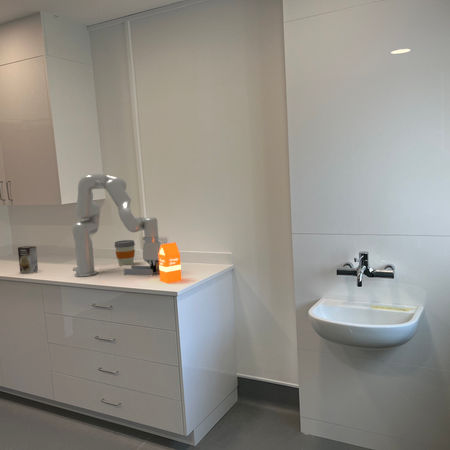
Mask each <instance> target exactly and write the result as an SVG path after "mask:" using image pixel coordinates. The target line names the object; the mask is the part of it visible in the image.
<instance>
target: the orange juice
mask: <svg viewBox="0 0 450 450" xmlns="http://www.w3.org/2000/svg"><path fill="white" fill-rule="evenodd" d="M160 245H161V247H160V251H159V254H158V255H159V270H160V275H159V279H160V280H159V281H160V283H161V282H162V283H165V284H171V283H176V282H180V281H181V282H182V280H183V279H182V265H181V264H182V263H181V253H180V251H179V250H180V249H179V248H178V245H177V244H176V242H170V243H162V244H161V243H160Z"/></svg>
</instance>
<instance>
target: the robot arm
mask: <svg viewBox="0 0 450 450" xmlns="http://www.w3.org/2000/svg"><path fill="white" fill-rule="evenodd" d="M99 189H100V190H102V189H103V190H106V192H107V193H108V195H109V196H110V197H111V200H112V201H113V202H114V204H115V205H116V207H117V209H118V210H117V212H118V215H119V218H120V221H121V222H122V224H123V225H124V227H125V228H126V229H127V230H128V231H129V232H130V233H137V232H140V231H144V237H142V240H143V241H144V242H143V245H142V259H143V260H144V261H143V262H145V263H147V264H149V265H148V266H151V269H153V274H154V273H157V272H156V262H159V255H158V254H159V251H160V247H161V243H160V241H159V227H158V225H159V224H158V219H157V217H141V216H140V217H135V216H134V214H133V213H132V210H131V208H130V207H131V206H130V205H131V201H132V199H131V198H130V196H129V194H128V193H127V191H126V190H127V183H126V181H125V180H124V179H123V178H120V177H116V176H112V175H109V174H105V173H90V174H87V175H85V176H83V177H81V178H80V180H79V182H78V184H77V201H76V209H75V210H76V212H75V213H76V216H77V217H78V218H79V219H80V221H77V222H75V223H74V224H73V226H72V228H71V230H72V235H73V239H74V245H75V256H76V267H75V266H74V267H73V269H72V271H73V272H75V273H74V275H75V277H79V278H81V277H90V276H95V275H97V274H98V271H97V270H95V259H94V258H95V257H94V248H93V242H92V239H91V236H93V235H95V234H97V232H98V230H99V228H100V227H99V226H100V214H101V209H100V205H99V204H98V203H97V202H95V201H94V200H93V199H94V193H93V190H99ZM81 219H83V220H81Z"/></svg>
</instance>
